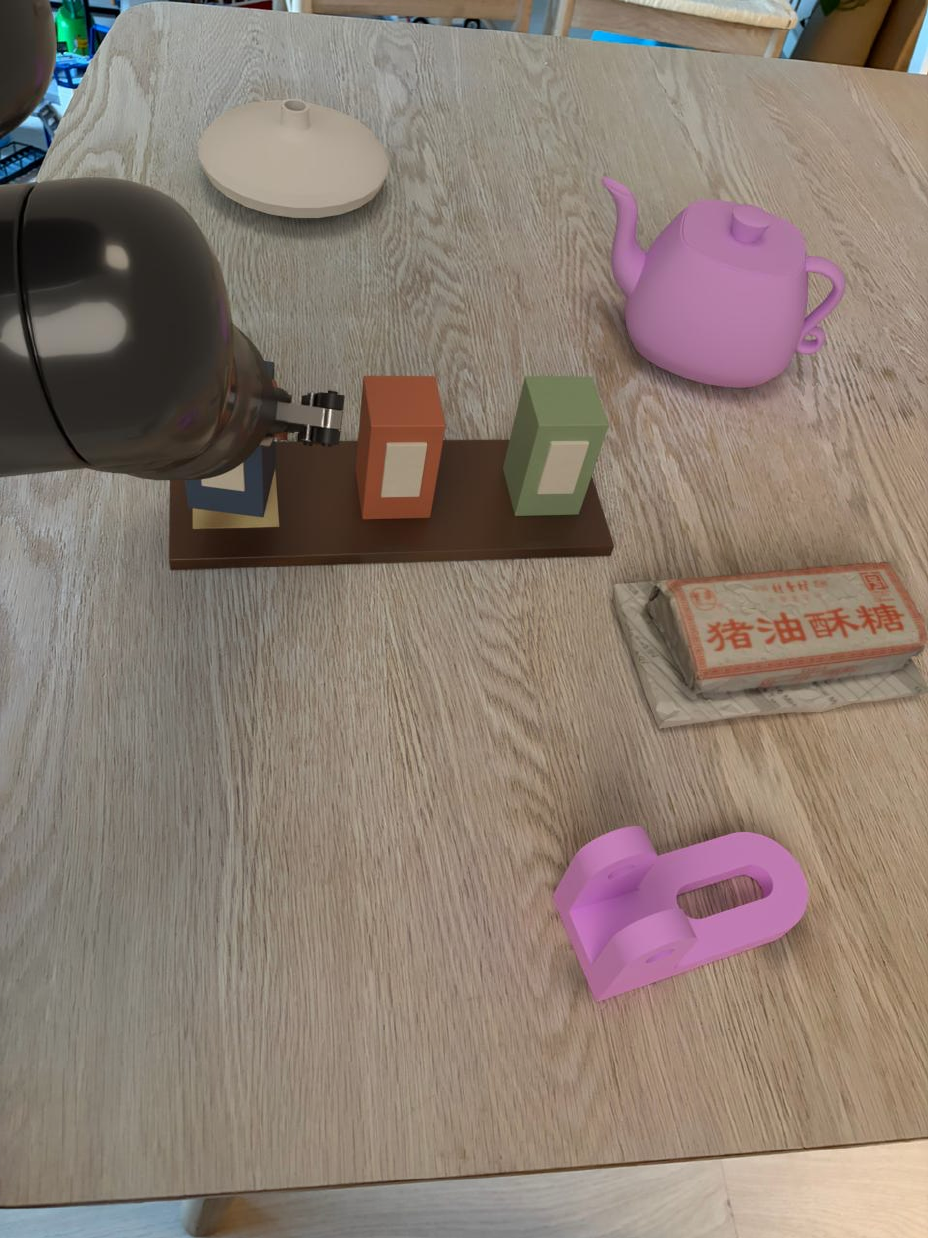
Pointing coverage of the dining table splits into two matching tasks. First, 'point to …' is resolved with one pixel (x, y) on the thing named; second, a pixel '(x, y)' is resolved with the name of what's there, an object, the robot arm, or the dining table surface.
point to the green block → (554, 445)
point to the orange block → (399, 446)
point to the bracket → (670, 905)
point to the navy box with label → (238, 483)
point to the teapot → (719, 291)
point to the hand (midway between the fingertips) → (235, 413)
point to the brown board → (336, 533)
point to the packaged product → (772, 641)
